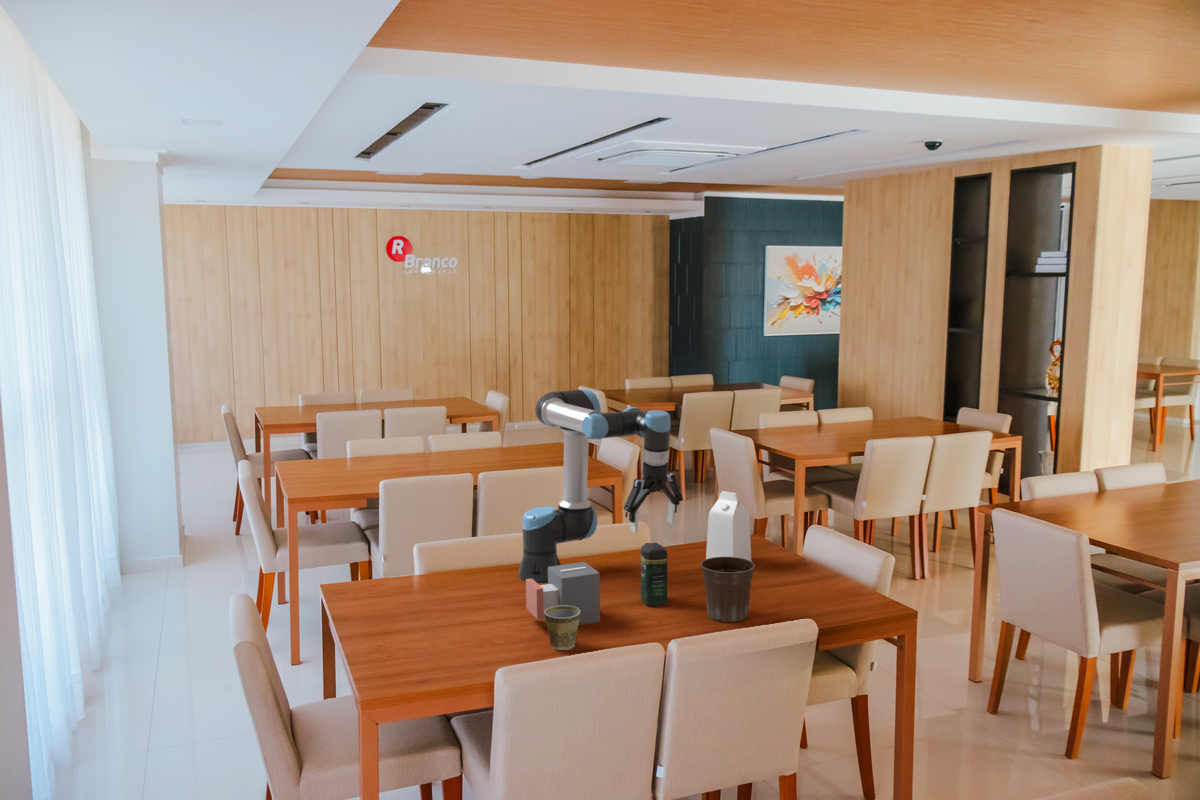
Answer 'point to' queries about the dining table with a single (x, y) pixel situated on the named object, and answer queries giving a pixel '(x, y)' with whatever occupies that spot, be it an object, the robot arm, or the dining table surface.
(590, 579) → the press housing
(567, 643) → the ceramic cup
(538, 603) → the pink piece
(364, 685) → the dining table surface
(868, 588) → the dining table surface
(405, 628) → the dining table surface
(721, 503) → the milk
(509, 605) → the dining table surface
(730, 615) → the plant pot
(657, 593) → the coffee jar
